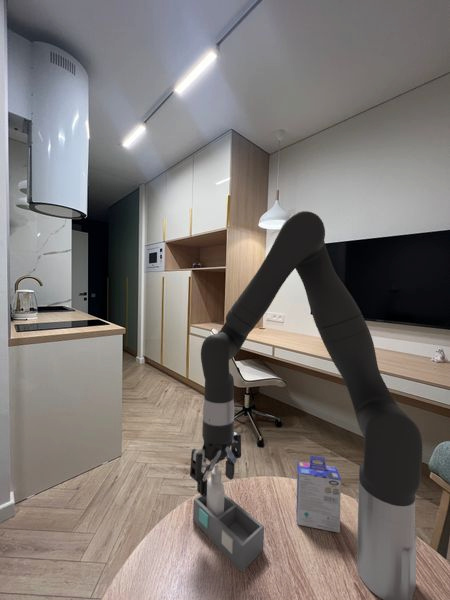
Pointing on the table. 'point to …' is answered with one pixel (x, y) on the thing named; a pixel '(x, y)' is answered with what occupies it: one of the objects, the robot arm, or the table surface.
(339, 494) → the ink cartridge box
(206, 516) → the block
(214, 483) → the eye dropper bottle
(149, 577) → the table surface
